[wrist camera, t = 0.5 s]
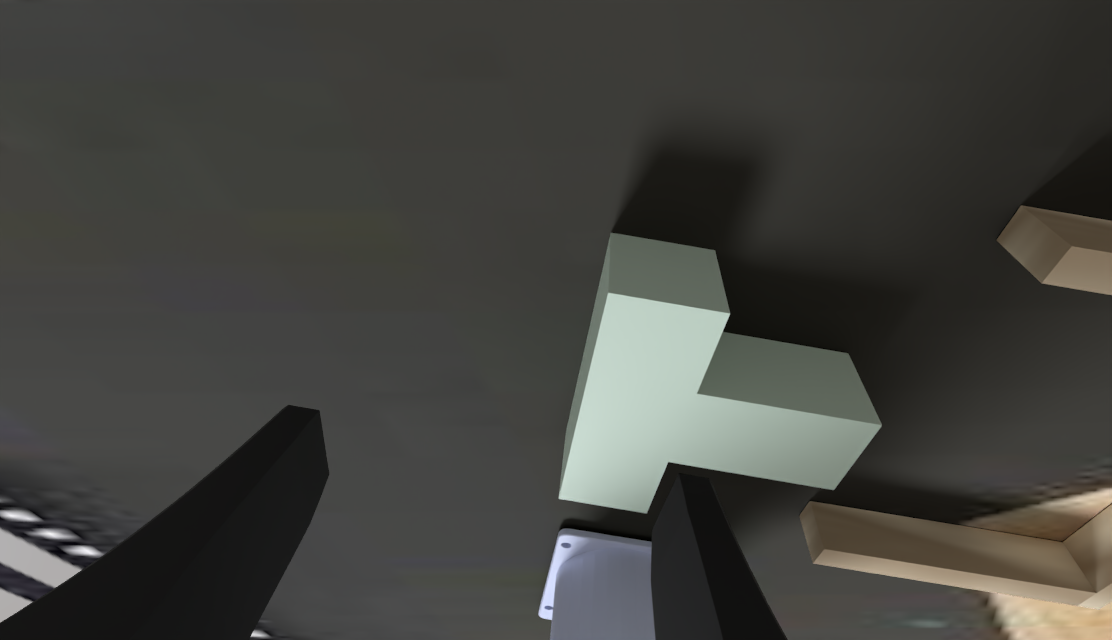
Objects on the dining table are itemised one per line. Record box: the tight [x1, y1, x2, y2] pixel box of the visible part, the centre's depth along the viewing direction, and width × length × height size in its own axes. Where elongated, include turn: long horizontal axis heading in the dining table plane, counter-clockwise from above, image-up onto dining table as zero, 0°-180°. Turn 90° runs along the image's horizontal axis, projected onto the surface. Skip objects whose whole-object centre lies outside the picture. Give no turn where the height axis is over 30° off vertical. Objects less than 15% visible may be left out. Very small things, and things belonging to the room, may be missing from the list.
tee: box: [559, 233, 882, 514], centre depth 20 cm, size 10×10×4 cm
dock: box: [799, 205, 1112, 610], centre depth 21 cm, size 16×13×2 cm
